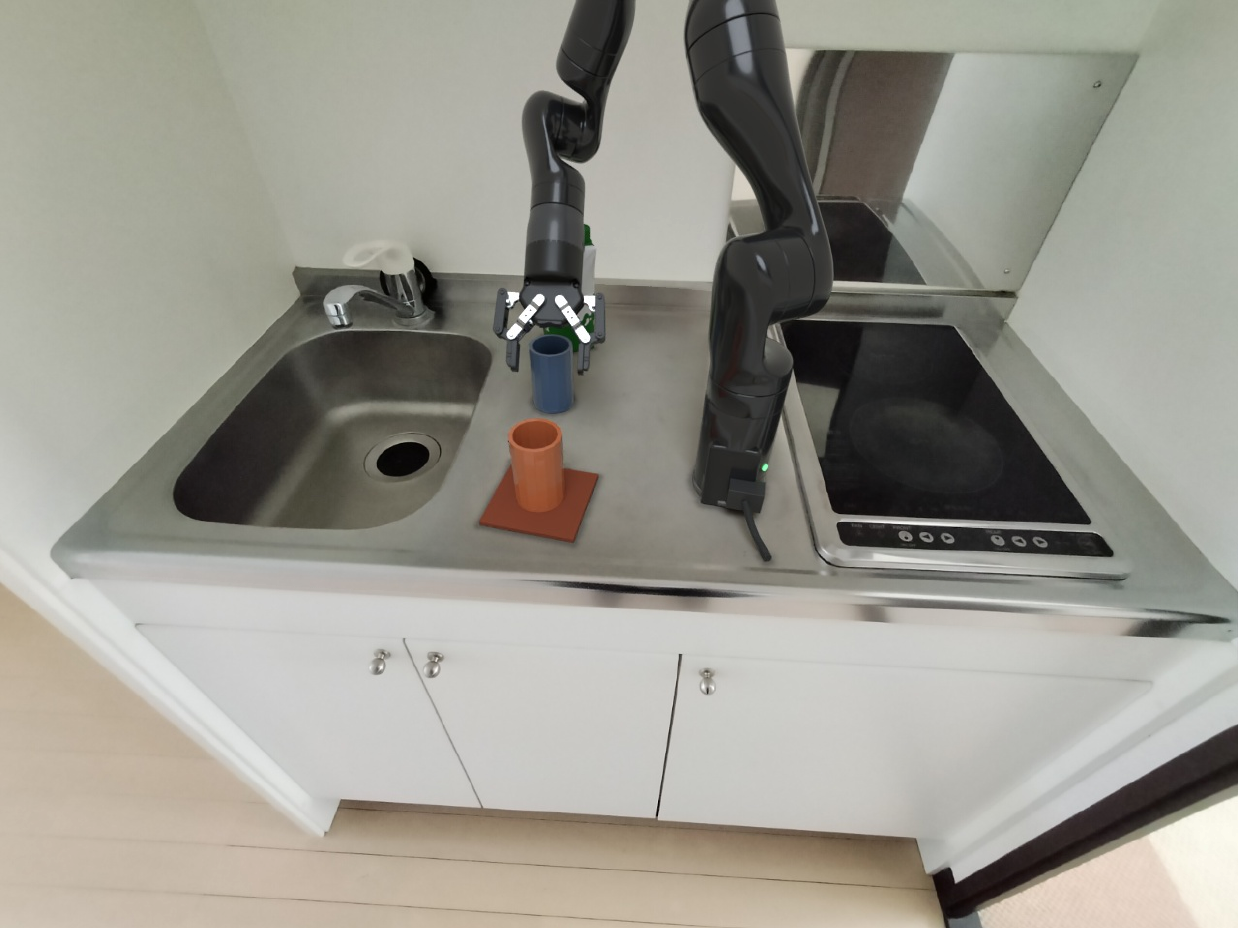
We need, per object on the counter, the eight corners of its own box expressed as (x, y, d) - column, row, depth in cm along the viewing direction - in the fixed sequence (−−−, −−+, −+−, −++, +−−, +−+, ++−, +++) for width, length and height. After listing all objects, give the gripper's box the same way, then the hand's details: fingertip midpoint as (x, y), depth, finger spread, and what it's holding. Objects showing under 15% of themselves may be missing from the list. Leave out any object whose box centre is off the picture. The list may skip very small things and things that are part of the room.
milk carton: (600, 350, 105) (601, 236, 92) (550, 358, 102) (543, 242, 89) (584, 326, 111) (583, 216, 98) (537, 334, 108) (529, 222, 95)
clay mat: (573, 542, 72) (573, 539, 71) (479, 524, 73) (478, 521, 73) (598, 477, 80) (598, 473, 80) (513, 462, 82) (513, 458, 82)
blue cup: (567, 416, 90) (565, 359, 84) (528, 410, 91) (522, 352, 85) (578, 393, 95) (577, 337, 88) (541, 387, 96) (537, 331, 89)
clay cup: (574, 490, 77) (572, 429, 71) (545, 519, 73) (540, 458, 67) (535, 472, 80) (529, 412, 73) (505, 500, 76) (497, 439, 69)
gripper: (494, 234, 74) (485, 363, 73) (608, 239, 74) (601, 369, 73) (506, 259, 82) (498, 376, 81) (610, 263, 81) (604, 381, 80)
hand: (547, 372), depth 77 cm, fingers open, 8 cm apart
